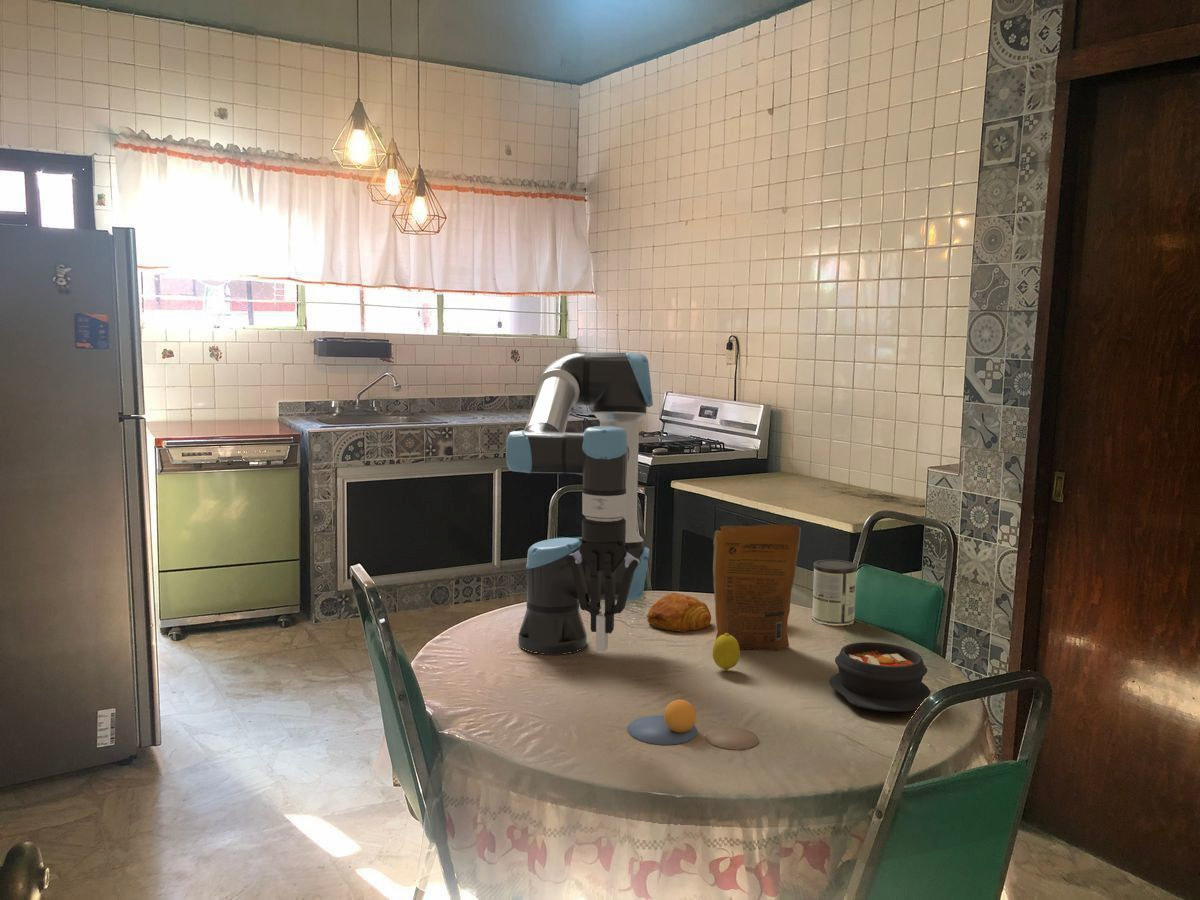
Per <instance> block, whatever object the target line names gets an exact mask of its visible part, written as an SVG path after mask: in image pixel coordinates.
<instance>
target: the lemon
mask: <svg viewBox="0 0 1200 900" xmlns="http://www.w3.org/2000/svg"><path fill="white" fill-rule="evenodd" d="M740 654H741V649H740V648H739V644H738V642H737V640H736V639H735V638H734V637H733V636H731V635H729V634H728V633H725V634H724V635H721V636H719V637H718V638H717V639H716V638H715V639H714V643H713V646H712V658H713V661H714V663H715V665H716V666H717V667H719V668H720V669H722V670H723V671H724V672H727V671H728V670H730V669H733V668H734V667H735V666H736V665H737V664H738V662H739V660H740Z"/></svg>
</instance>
